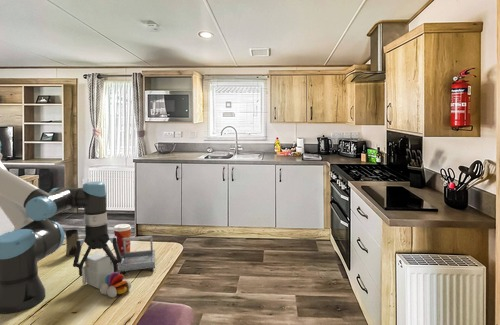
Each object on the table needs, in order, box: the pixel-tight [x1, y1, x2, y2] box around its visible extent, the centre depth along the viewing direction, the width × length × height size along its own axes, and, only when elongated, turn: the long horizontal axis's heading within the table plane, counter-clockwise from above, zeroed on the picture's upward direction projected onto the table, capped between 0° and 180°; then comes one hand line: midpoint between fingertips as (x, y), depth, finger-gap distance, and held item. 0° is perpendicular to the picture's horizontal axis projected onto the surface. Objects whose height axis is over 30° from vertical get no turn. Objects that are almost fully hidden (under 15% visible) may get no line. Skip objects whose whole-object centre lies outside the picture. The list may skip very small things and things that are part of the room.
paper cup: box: [112, 223, 132, 253], centre depth 154 cm, size 8×8×14 cm
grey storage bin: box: [117, 235, 156, 275], centre depth 143 cm, size 14×14×10 cm
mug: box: [61, 228, 80, 257], centre depth 156 cm, size 8×6×12 cm
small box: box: [84, 252, 112, 290], centre depth 127 cm, size 8×6×10 cm
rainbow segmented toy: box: [99, 271, 132, 299], centre depth 121 cm, size 8×10×7 cm
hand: (99, 282), depth 128 cm, fingers closed on small box, 9 cm apart
